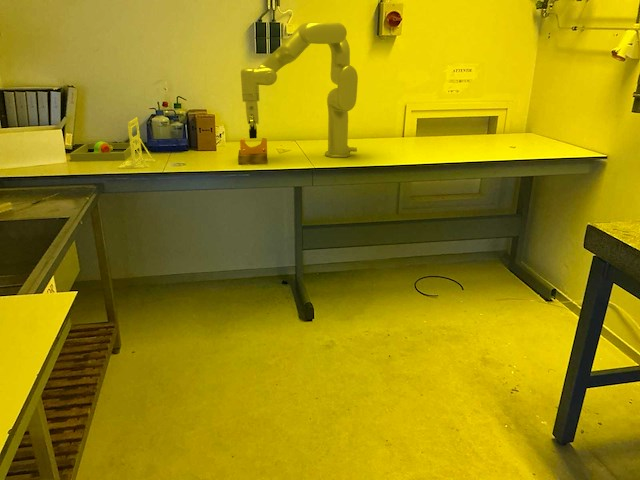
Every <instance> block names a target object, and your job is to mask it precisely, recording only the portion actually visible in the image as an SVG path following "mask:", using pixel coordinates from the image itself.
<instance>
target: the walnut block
mask: <svg viewBox="0 0 640 480" xmlns="http://www.w3.org/2000/svg"><path fill="white" fill-rule="evenodd" d="M243 151H245V149H243ZM237 160H238V161H237V163H238V165H239V166H242V165H244V166H245V165H246V164H247V165H248V164H249V165H268V152H267V153H260V154H241V150H240V149H239V150H238V154H237ZM249 165H248V166H249Z"/></svg>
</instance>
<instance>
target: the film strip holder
mask: <svg viewBox="0 0 640 480" xmlns="http://www.w3.org/2000/svg"><path fill="white" fill-rule="evenodd" d="M139 125H140V124H139V119H138V117H134V119H132V120H130V121H127V132H128V139H129V143H130V149H131V155H130V157H131V160H124V161H123V162H122V164H121V165H118V166H117V169H150V165H148V164H147V163H155V162H156V159H154V158H153V157H152V156H151V153H150V152H149V151H148V148H147V147H146V146H145V144H144V143H143V141H142V138H140V137H141V134H140V127H139ZM135 126H136V127H135ZM134 127H135V128H136V133H137V134H136V135H134V136H133V128H134ZM142 147H143V148H144V150H145V151H146V153H147V155H148V157H149V158H145V159H144V158H143V152H142ZM135 150H136V151H135ZM136 152H137V154H138V158H137V159H136ZM142 163H143V164H142ZM141 164H142V165H141Z"/></svg>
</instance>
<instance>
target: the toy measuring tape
mask: <svg viewBox="0 0 640 480" xmlns="http://www.w3.org/2000/svg"><path fill="white" fill-rule="evenodd" d="M95 143H96V144H95V146H94V151H93V153H112V151H114V150H113V147H112V146H111V145H108V144H107V143H108V142H105V141H97V142H95Z"/></svg>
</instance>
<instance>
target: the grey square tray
mask: <svg viewBox="0 0 640 480" xmlns="http://www.w3.org/2000/svg"><path fill="white" fill-rule="evenodd" d="M96 143H97V142H95V143H94V142H91V143H89V142H87V143H84V144H83V145H81V146H80V147H78V148H77V149H75V150H73V151H71V152H70V153H69V156H70V162H102V161H103V162H104V161H106V162H107V161H108V162H109V161H110V162H113V161H115V162H117V161H127V159H128V158H130V157H131V156H132V154H131V149H130V142H112V143H111V142H106V143H107V144H108V145H111V146H112V147H113V149H126V150H123V151H122V152H111V153H94V152H89V151H88V149H94V146H95V144H96Z"/></svg>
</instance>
